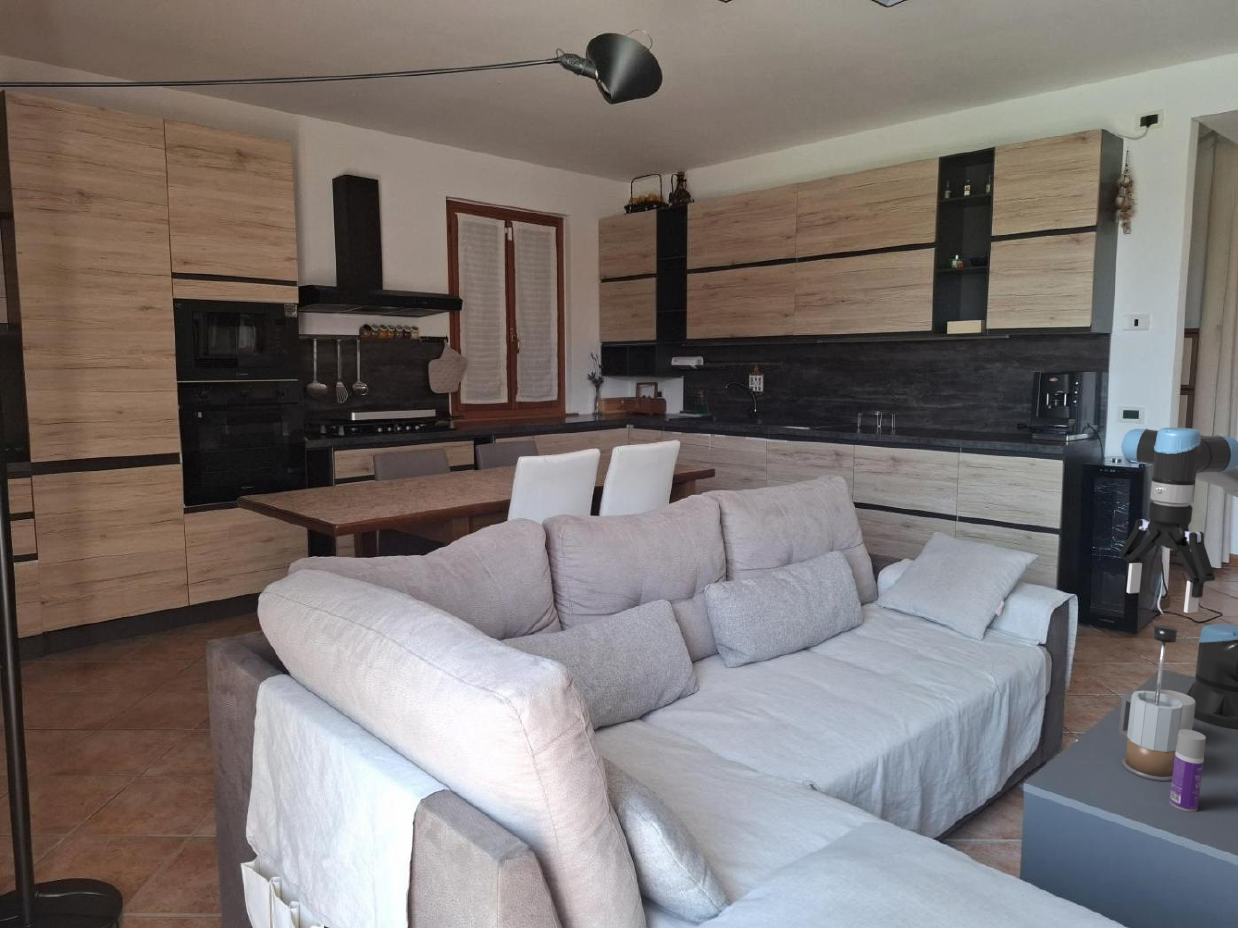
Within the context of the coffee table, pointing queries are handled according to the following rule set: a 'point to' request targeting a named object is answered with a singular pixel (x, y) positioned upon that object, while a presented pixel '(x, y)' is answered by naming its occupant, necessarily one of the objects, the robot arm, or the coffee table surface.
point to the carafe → (1150, 735)
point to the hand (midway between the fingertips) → (1160, 601)
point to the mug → (1184, 708)
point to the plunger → (1162, 658)
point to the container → (1187, 770)
